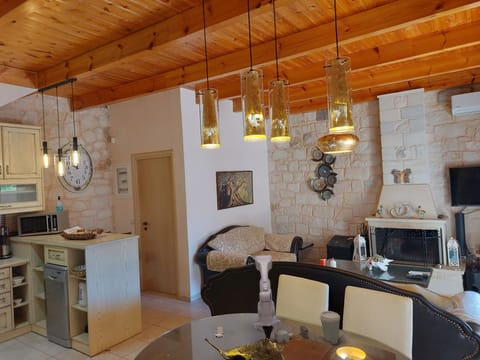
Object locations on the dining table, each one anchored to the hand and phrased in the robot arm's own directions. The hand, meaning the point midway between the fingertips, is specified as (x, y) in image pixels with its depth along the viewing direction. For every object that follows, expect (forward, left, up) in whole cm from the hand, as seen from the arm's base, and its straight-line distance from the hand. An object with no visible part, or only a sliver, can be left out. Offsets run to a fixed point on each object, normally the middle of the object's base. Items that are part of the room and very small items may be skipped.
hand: (268, 339), depth 181 cm
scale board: (+6, +11, -3) cm, 13 cm away
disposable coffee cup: (+23, +24, -3) cm, 34 cm away
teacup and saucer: (-33, -10, -4) cm, 34 cm away
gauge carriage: (+6, +8, -2) cm, 10 cm away
